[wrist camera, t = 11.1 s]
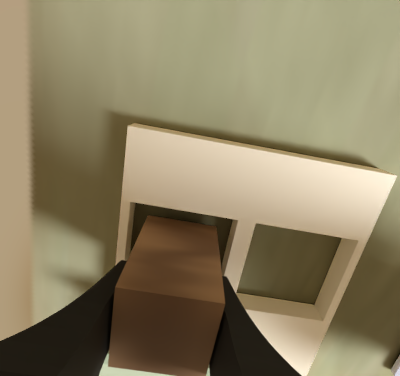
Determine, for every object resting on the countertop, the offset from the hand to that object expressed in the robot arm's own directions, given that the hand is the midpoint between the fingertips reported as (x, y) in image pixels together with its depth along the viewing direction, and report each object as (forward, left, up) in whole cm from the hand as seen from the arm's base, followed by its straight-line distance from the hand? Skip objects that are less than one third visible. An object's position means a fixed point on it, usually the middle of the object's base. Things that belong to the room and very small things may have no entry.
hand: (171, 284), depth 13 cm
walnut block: (0, 0, -3) cm, 3 cm away
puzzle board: (-4, +3, -4) cm, 6 cm away
